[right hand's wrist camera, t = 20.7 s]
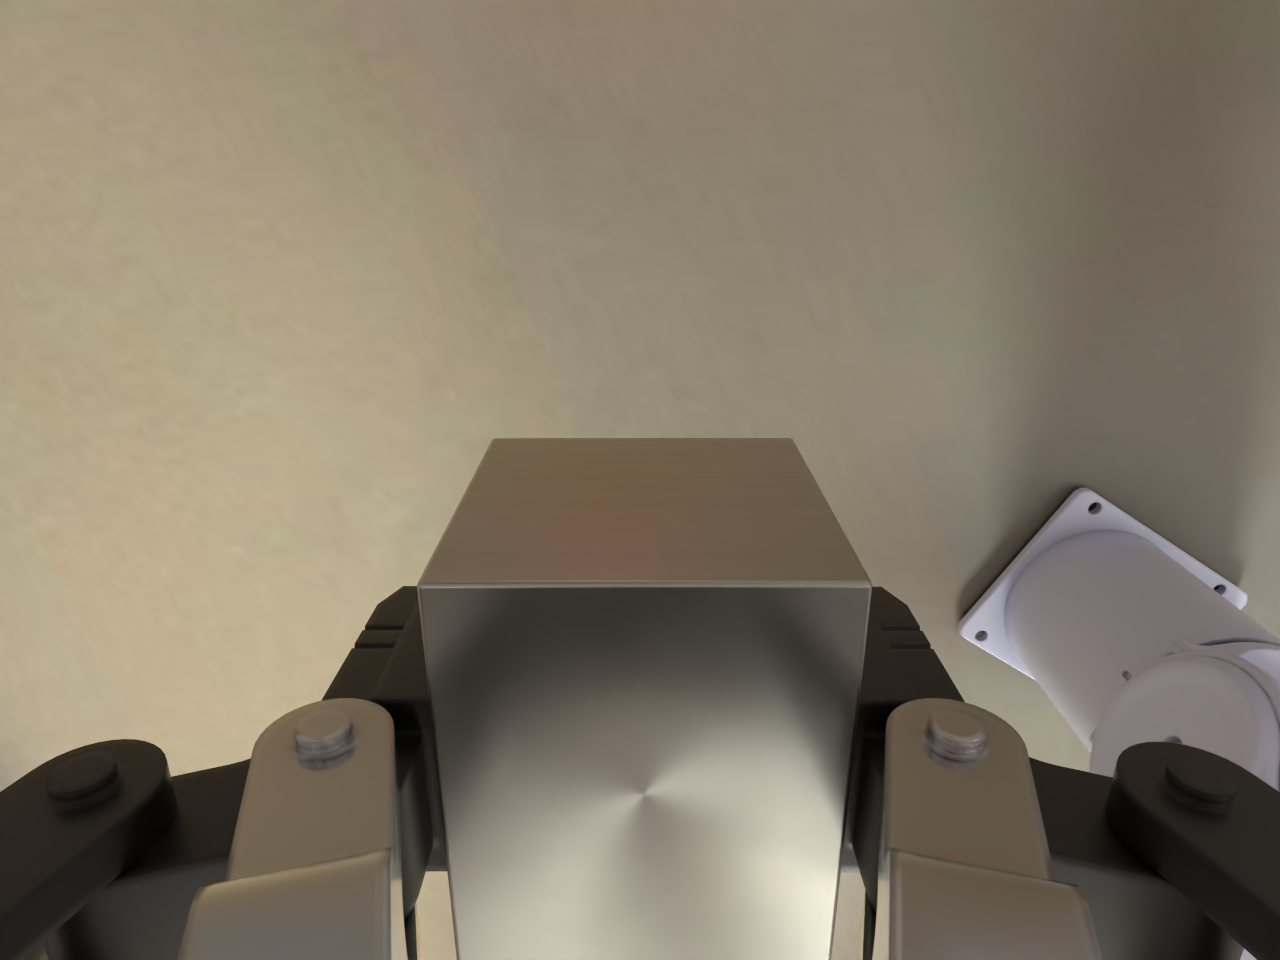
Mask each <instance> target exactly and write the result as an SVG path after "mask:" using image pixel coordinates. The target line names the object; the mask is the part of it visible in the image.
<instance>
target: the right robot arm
mask: <svg viewBox="0 0 1280 960" xmlns="http://www.w3.org/2000/svg"><path fill="white" fill-rule="evenodd" d="M426 871H447V862H446V852H445V843H444V833H443V824H442V815H441V805H440V796H439V787H438V777H437V768H436V758H435V749H434V740H433V730H432V721H431V712H430V702H429V693H428V684H427V674H426V665H425V655H424V646H423V637H422V627H421V618H420V609H419V599H418V590H417V586H403V587H402V588H400V589H399V590H397V591H396V592H395V593H393V594H392V595H390V596H389V597H388V598H386V599H385V600H384V601H382V602H381V603H379V604H378V605H377V607H376V608H375V610H374V612H373V614H372V615H371V617H370V619H369V620H368V622H367V624H366V625H365V630H363V631H362V632H361V634H360V636H359V637H358V639H357V641H356V643H355V648H352V649H351V651H350V653H349V654H348V656H347V658H346V660H345V661H344V663H343V665H342V666H341V668H340V670H339V672H338V673H337V675H336V677H335V678H334V680H333V682H332V683H331V685H330V687H329V689H328V690H327V692H326V694H325V695H324V697H323V699H322V700H321V701H319V702H315V703H312V704H308V705H305V706H303V707H300V708H298V709H295V710H293V711H291V712H289V713H287V714H285V715H284V716H282V717H280V718H279V719H277V720H276V721H274V722H273V723H272V724H271V725H270V726H268V727H267V728H266V729H265V730H264V732H263V733H262V734H261V735H260V736H259V738H258V740H257V741H256V743H255V746H254V748H253V752H252V756H251V759H248V760H245V761H242V762H238V763H234V764H230V765H225V766H221V767H216V768H211V769H206V770H202V771H197V772H192V773H187V774H183V775H178V776H173V777H171V776H170V772H169V768H168V764H167V760H166V757H165V754H164V753H163V751H162V750H161V749H160V748H159V747H157V746H155V745H154V744H151V743H149V742H146V741H140V740H130V739H122V740H110V741H104V742H98V743H94V744H90V745H87V746H83V747H80V748H77V749H74V750H71V751H69V752H66V753H64V754H62V755H59V756H57V757H55V758H53V759H51V760H49V761H47V762H45V763H43V764H42V765H40V766H39V767H37V768H35V769H34V770H32V771H31V772H29V773H28V774H26V775H25V776H23V777H22V778H20V779H19V780H17V781H16V782H14V783H13V784H12V785H10V786H9V787H7V788H6V789H4V790H3V791H1V792H0V960H420V944H419V923H418V914H417V906H416V900H417V898H418V895H419V892H420V888H421V885H422V882H423V878H424V875H425V872H426ZM841 872H860V873H861V876H862V880H863V883H864V886H865V889H866V890H865V898H864V906H863V914H862V922H861V944H860V960H1240V959H1241V956H1242V953H1243V950H1244V949H1245V950H1247V951H1248V952H1249V953H1250V954H1251V955H1252V956H1253V957H1254V958H1256V959H1257V960H1280V792H1279V791H1277V790H1276V789H1274V788H1273V787H1271V786H1270V785H1268V784H1267V783H1266V782H1264V781H1263V780H1261V779H1260V778H1258V777H1257V776H1255V775H1254V774H1252V773H1251V772H1249V771H1248V770H1246V769H1244V768H1243V767H1241V766H1239V765H1237V764H1236V763H1234V762H1232V761H1230V760H1228V759H1226V758H1223V757H1221V756H1219V755H1216V754H1214V753H1211V752H1208V751H1205V750H1202V749H1199V748H1196V747H1192V746H1188V745H1183V744H1177V743H1171V742H1145V743H1139V744H1135V745H1133V746H1130V747H1128V748H1127V749H1125V750H1124V751H1122V753H1121V754H1120V755H1119V757H1118V760H1117V762H1116V766H1115V770H1114V775H1113V777H1108V776H1104V775H1099V774H1094V773H1089V772H1085V771H1080V770H1075V769H1070V768H1066V767H1061V766H1056V765H1053V764H1049V763H1045V762H1042V761H1039V760H1036V759H1033V758H1030V757H1028V752H1027V749H1026V746H1025V743H1024V741H1023V740H1022V738H1021V736H1020V735H1019V734H1018V733H1017V732H1016V730H1015V729H1014V728H1013V727H1012V726H1010V725H1009V724H1008V723H1007V722H1006V721H1004V720H1003V719H1001V718H1000V717H998V716H996V715H995V714H993V713H991V712H989V711H987V710H985V709H982V708H980V707H977V706H975V705H972V704H968V703H965V702H964V700H963V698H962V697H961V695H960V693H959V692H958V690H957V688H956V687H955V685H954V683H953V681H952V680H951V678H950V676H949V675H948V673H947V671H946V670H945V668H944V666H943V665H942V663H941V661H940V660H939V658H938V656H937V655H936V653H935V651H934V650H933V649H931V648H930V643H929V641H928V640H927V638H926V636H925V635H924V633H923V631H920V626H919V625H918V623H917V621H916V620H915V618H914V616H913V614H912V613H911V611H910V609H909V608H908V606H907V605H906V604H904V603H903V602H902V601H900V600H899V599H897V598H896V597H895V596H893V595H892V594H890V593H889V592H888V591H886V590H885V589H883V588H882V587H872V592H871V601H870V610H869V619H868V628H867V637H866V646H865V655H864V664H863V673H862V682H861V692H860V701H859V710H858V719H857V728H856V737H855V746H854V755H853V764H852V773H851V783H850V792H849V801H848V810H847V819H846V828H845V837H844V846H843V855H842V864H841Z"/></svg>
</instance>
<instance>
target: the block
mask: <svg viewBox="0 0 1280 960" xmlns="http://www.w3.org/2000/svg"><path fill="white" fill-rule="evenodd" d="M417 590H418V599H419V609H420V618H421V627H422V637H423V646H424V655H425V665H426V674H427V684H428V693H429V702H430V712H431V721H432V730H433V740H434V749H435V758H436V768H437V777H438V787H439V796H440V805H441V815H442V824H443V833H444V843H445V852H446V862H447V871H448V880H449V890H450V899H451V908H452V918H453V927H454V936H455V946H456V955H457V960H831V955H832V946H833V937H834V928H835V919H836V910H837V901H838V892H839V883H840V873H841V864H842V855H843V846H844V837H845V828H846V819H847V810H848V801H849V792H850V783H851V773H852V764H853V755H854V746H855V737H856V728H857V719H858V710H859V701H860V692H861V682H862V673H863V664H864V655H865V646H866V637H867V628H868V619H869V610H870V601H871V592H872V583H871V581H870V579H869V577H868V575H867V574H866V572H865V570H864V568H863V566H862V564H861V563H860V561H859V559H858V557H857V555H856V554H855V552H854V550H853V548H852V546H851V545H850V543H849V541H848V539H847V537H846V535H845V534H844V532H843V530H842V528H841V526H840V525H839V523H838V521H837V519H836V517H835V516H834V514H833V512H832V510H831V508H830V506H829V505H828V503H827V501H826V499H825V497H824V496H823V494H822V492H821V490H820V488H819V487H818V485H817V483H816V481H815V479H814V477H813V476H812V474H811V472H810V470H809V468H808V467H807V465H806V463H805V461H804V459H803V457H802V456H801V454H800V452H799V450H798V448H797V447H796V445H795V443H794V441H793V439H790V438H518V439H493V440H492V442H491V444H490V446H489V447H488V449H487V451H486V453H485V455H484V457H483V459H482V461H481V463H480V465H479V467H478V469H477V471H476V472H475V474H474V476H473V478H472V480H471V482H470V484H469V486H468V488H467V490H466V492H465V494H464V495H463V497H462V499H461V501H460V503H459V505H458V507H457V509H456V511H455V513H454V515H453V517H452V519H451V520H450V522H449V524H448V526H447V528H446V530H445V532H444V534H443V536H442V538H441V540H440V542H439V544H438V545H437V547H436V549H435V551H434V553H433V555H432V557H431V559H430V561H429V563H428V565H427V567H426V569H425V570H424V572H423V574H422V576H421V578H420V580H419V582H418V585H417Z"/></svg>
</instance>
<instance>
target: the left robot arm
mask: <svg viewBox="0 0 1280 960" xmlns="http://www.w3.org/2000/svg"><path fill="white" fill-rule="evenodd" d="M1095 502H1097V505H1096V507H1095V508H1094V509H1093V510H1089V511H1088V508H1089V506H1090V505H1091V504H1092V503H1095ZM1217 585H1220V586H1219V588H1218V589H1216V590H1213V589H1214V587H1216V586H1217ZM1247 600H1248V597H1247V594H1246V593H1245V592H1244V591H1243V590H1241V589H1240V588H1239V587H1237V586H1236V585H1234V584H1232V583H1231V582H1229V581H1228V580H1226V579H1225V578H1223V577H1222V576H1220V575H1219V574H1217V573H1216V572H1214V571H1213V570H1211V569H1210V568H1208V567H1207V566H1205V565H1204V564H1202V563H1201V562H1199V561H1198V560H1196V559H1195V558H1193V557H1192V556H1190V555H1189V554H1187V553H1186V552H1184V551H1183V550H1181V549H1180V548H1178V547H1177V546H1175V545H1173V544H1172V543H1170V542H1169V541H1167V540H1166V539H1164V538H1163V537H1161V536H1160V535H1158V534H1157V533H1155V532H1154V531H1152V530H1151V529H1149V528H1148V527H1146V526H1145V525H1143V524H1142V523H1140V522H1139V521H1137V520H1136V519H1134V518H1133V517H1131V516H1130V515H1128V514H1127V513H1125V512H1124V511H1122V510H1121V509H1119V508H1118V507H1116V506H1114V505H1113V504H1111V503H1110V502H1108V501H1107V500H1105V499H1104V498H1102V497H1101V496H1099V495H1098V494H1096V493H1095V492H1093V491H1092V490H1090V489H1088V488H1079V489H1077V490H1075V491H1074V492H1073V493H1072V494H1071V495H1070V496H1069V497H1068V498H1067V500H1066V501H1065V502H1064V503H1063V504H1062V505H1061V506H1060V508H1059V509H1058V510H1057V511H1056V512H1055V513H1054V514H1053V516H1052V517H1051V518H1050V519H1049V520H1048V521H1047V522H1046V524H1045V525H1044V526H1043V527H1042V528H1041V529H1040V530H1039V532H1038V533H1037V534H1036V535H1035V536H1034V537H1033V538H1032V540H1031V541H1030V542H1029V543H1028V544H1027V545H1026V546H1025V548H1024V549H1023V550H1022V551H1021V552H1020V553H1019V554H1018V556H1017V557H1016V558H1015V559H1014V560H1013V561H1012V562H1011V564H1010V565H1009V566H1008V567H1007V568H1006V569H1005V570H1004V572H1003V573H1002V574H1001V575H1000V576H999V577H998V578H997V580H996V581H995V582H994V583H993V584H992V585H991V586H990V588H989V589H988V590H987V591H986V592H985V593H984V595H983V596H982V597H981V598H980V599H979V600H978V601H977V603H976V604H975V605H974V606H973V607H972V608H971V609H970V611H969V612H968V613H967V614H966V615H965V616H964V617H963V619H962V620H961V621H960V623H959V624H958V630H959V632H960V634H961V635H962V636H963V637H964V638H965V639H966V640H968V641H970V642H972V643H973V644H975V645H977V646H978V647H980V648H982V649H983V650H985V651H987V652H988V653H990V654H992V655H993V656H995V657H997V658H998V659H1000V660H1002V661H1004V662H1005V663H1007V664H1009V665H1010V666H1012V667H1014V668H1015V669H1017V670H1019V671H1020V672H1022V673H1024V674H1025V675H1027V676H1029V677H1030V678H1032V679H1034V680H1036V681H1037V682H1038V684H1039V685H1040V686H1041V688H1042V689H1043V690H1044V692H1045V693H1046V694H1047V696H1048V697H1049V698H1050V700H1051V701H1052V702H1053V704H1054V705H1055V706H1056V708H1057V709H1058V710H1059V711H1060V713H1061V714H1062V715H1063V717H1064V718H1065V719H1066V721H1067V722H1068V723H1069V725H1070V726H1071V727H1072V729H1073V730H1074V731H1075V733H1076V734H1077V735H1078V737H1079V738H1080V739H1081V741H1082V742H1083V743H1084V745H1085V746H1086V747H1087V749H1088V750H1089V751H1090V753H1091V755H1090V773H1094V774H1099V775H1104V776H1108V777H1113V775H1114V770H1115V766H1116V762H1117V760H1118V757H1119V755H1120V754H1121V753H1122V751H1124V750H1125V749H1127V748H1128V747H1130V746H1133V745H1135V744H1139V743H1145V742H1171V743H1177V744H1183V745H1188V746H1192V747H1196V748H1199V749H1202V750H1205V751H1208V752H1211V753H1214V754H1216V755H1219V756H1221V757H1223V758H1226V759H1228V760H1230V761H1232V762H1234V763H1236V764H1237V765H1239V766H1241V767H1243V768H1244V769H1246V770H1248V771H1249V772H1251V773H1252V774H1254V775H1255V776H1257V777H1258V778H1260V779H1261V780H1263V781H1264V782H1266V783H1267V784H1268V785H1270V786H1271V787H1273V788H1274V789H1276V790H1277V791H1279V792H1280V640H1279V639H1278V638H1277V637H1276V636H1274V635H1273V634H1272V633H1270V632H1269V631H1268V630H1266V629H1265V628H1264V627H1262V626H1261V625H1260V624H1258V623H1257V622H1256V621H1254V620H1253V619H1252V618H1250V617H1249V616H1248V615H1246V614H1245V613H1244V612H1242V611H1241V609H1242V608H1243V607H1244V606H1245V604H1246V603H1247ZM982 630H983V631H984V632H983V634H982V635H980V636H975V635H976V633H977V632H979V631H982ZM1240 960H1257V959H1256V958H1254V957H1253V956H1252V955H1251V954H1250V953H1249V952H1248V951H1247V950H1245V949H1244V950H1243V953H1242V956H1241V959H1240Z"/></svg>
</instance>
